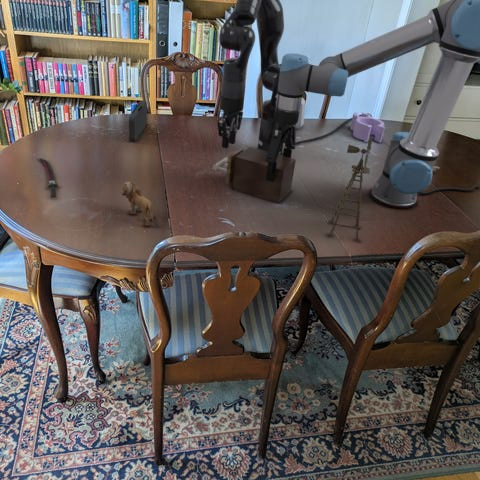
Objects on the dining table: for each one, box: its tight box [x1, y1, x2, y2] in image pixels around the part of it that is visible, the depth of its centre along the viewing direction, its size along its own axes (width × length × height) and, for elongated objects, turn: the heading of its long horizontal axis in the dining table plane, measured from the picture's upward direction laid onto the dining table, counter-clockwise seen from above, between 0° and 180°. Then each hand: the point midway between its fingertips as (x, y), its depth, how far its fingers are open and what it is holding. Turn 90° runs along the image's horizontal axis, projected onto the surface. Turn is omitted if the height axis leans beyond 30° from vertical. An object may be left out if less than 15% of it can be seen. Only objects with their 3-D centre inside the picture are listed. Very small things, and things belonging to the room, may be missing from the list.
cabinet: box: [232, 146, 297, 204], centre depth 155 cm, size 17×11×12 cm, turn 64°
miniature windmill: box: [329, 134, 373, 241], centre depth 132 cm, size 9×8×30 cm
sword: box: [40, 158, 59, 198], centre depth 151 cm, size 31×3×1 cm, turn 26°
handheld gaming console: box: [128, 100, 148, 142], centre depth 189 cm, size 23×3×10 cm, turn 178°
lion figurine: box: [119, 181, 159, 227], centre depth 134 cm, size 15×5×9 cm, turn 50°
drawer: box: [212, 147, 245, 185], centre depth 157 cm, size 21×10×10 cm, turn 64°
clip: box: [349, 112, 386, 143], centre depth 214 cm, size 20×12×7 cm, turn 11°
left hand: (228, 145), depth 156 cm, fingers open, 4 cm apart
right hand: (277, 173), depth 152 cm, fingers open, 12 cm apart
